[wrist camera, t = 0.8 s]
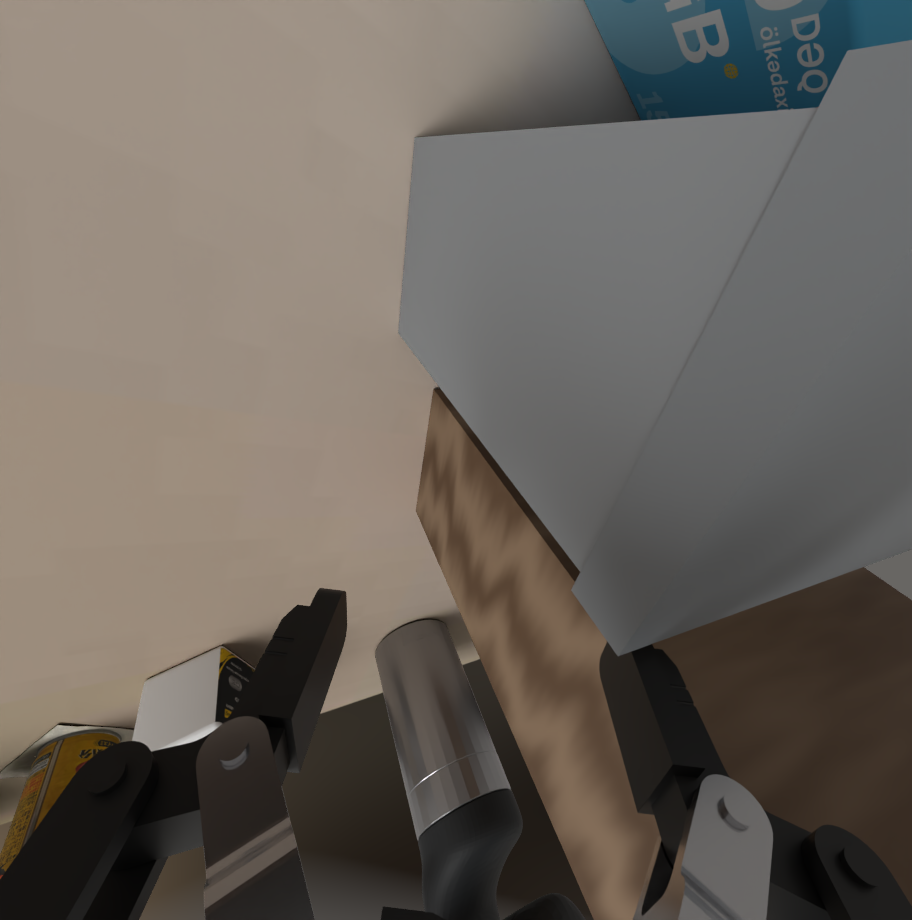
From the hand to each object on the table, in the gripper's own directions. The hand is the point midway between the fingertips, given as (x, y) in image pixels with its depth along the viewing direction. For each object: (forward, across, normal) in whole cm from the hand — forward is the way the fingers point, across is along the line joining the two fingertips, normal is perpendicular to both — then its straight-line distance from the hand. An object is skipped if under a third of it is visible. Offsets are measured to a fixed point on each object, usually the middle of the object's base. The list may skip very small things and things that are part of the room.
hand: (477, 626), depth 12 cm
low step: (+22, +3, +9) cm, 24 cm away
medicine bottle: (+15, -22, -29) cm, 40 cm away
